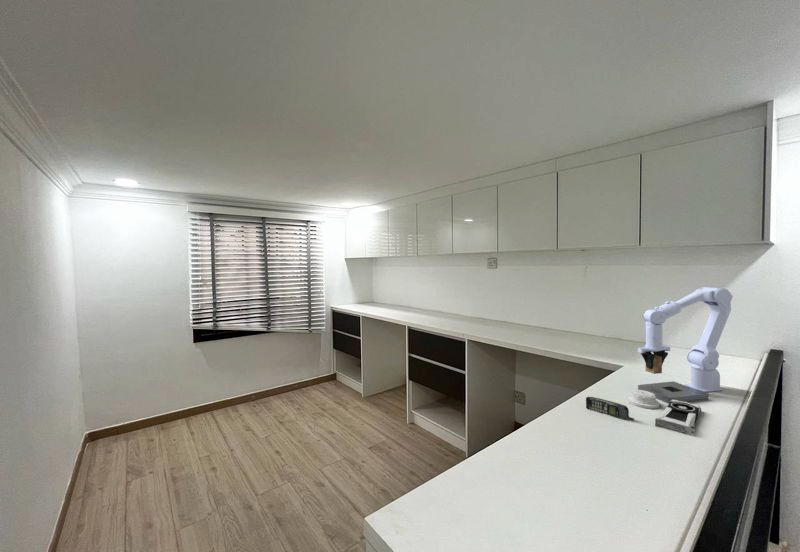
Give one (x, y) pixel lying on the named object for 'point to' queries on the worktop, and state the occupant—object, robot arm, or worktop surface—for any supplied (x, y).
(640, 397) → the mechanical component
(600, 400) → the mobile phone
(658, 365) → the walnut peg
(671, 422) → the graphics card
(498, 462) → the worktop surface
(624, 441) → the worktop surface
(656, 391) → the hole plate
